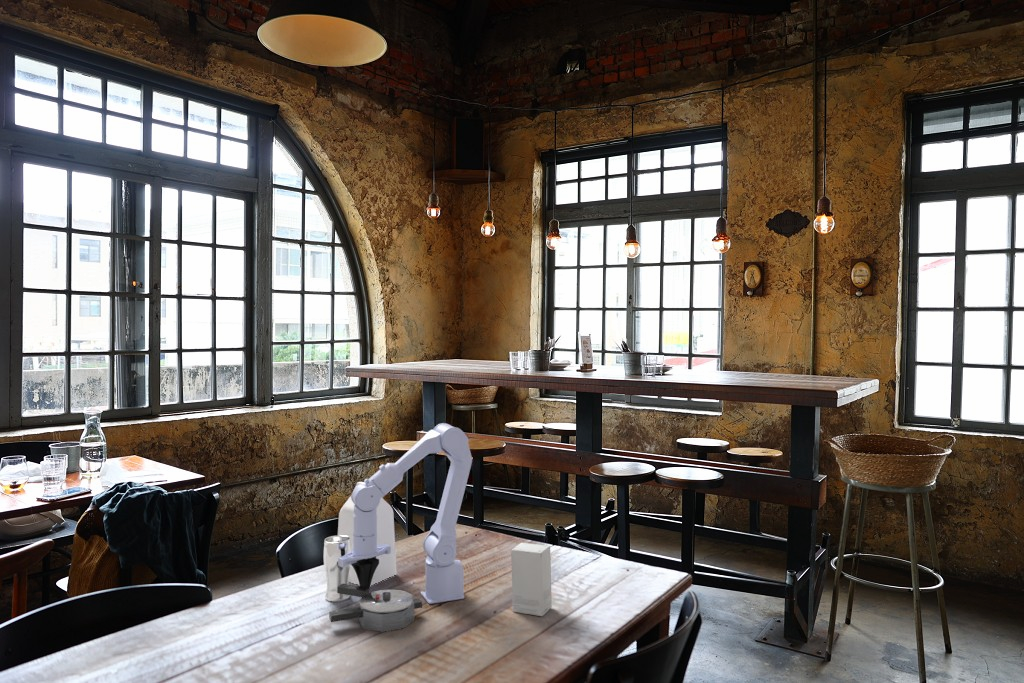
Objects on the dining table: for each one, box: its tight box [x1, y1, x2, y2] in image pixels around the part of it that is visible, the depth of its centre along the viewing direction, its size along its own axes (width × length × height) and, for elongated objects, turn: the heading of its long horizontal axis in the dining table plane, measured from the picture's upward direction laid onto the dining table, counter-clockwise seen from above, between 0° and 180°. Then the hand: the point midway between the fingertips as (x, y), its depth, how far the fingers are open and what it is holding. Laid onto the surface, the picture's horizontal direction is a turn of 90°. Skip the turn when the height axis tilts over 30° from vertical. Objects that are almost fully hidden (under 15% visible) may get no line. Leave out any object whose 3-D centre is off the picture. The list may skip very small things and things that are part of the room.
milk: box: [337, 481, 398, 586], centre depth 196 cm, size 12×12×26 cm
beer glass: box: [323, 534, 352, 603], centre depth 181 cm, size 7×7×15 cm
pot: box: [328, 597, 423, 633], centre depth 166 cm, size 21×12×4 cm, turn 114°
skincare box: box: [510, 542, 553, 617], centre depth 174 cm, size 8×7×16 cm
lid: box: [337, 583, 414, 613], centre depth 168 cm, size 19×12×2 cm, turn 69°
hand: (364, 588), depth 175 cm, fingers closed
